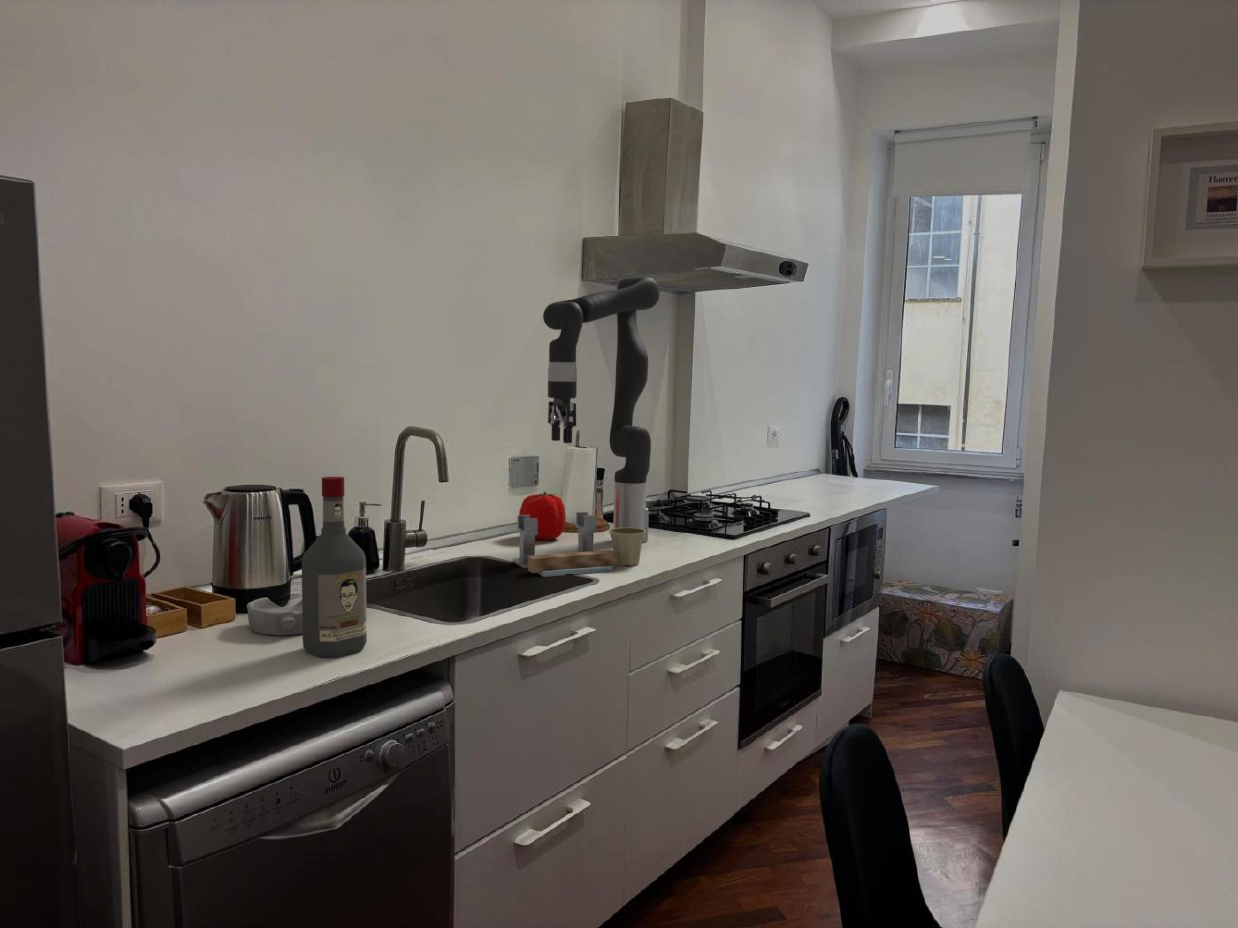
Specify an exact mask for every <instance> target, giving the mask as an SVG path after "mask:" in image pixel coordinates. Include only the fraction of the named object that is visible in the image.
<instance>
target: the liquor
mask: <svg viewBox="0 0 1238 928" xmlns="http://www.w3.org/2000/svg"><path fill="white" fill-rule="evenodd" d="M321 496H322V527H321V530H320V532H321V534H320V535H319V536H318V537H317V538H316V539H315V541H314V542H313V543H312V544H311V545H309V547H308V548H307V550H306V551H305V552H304V553H303V556H302V558H301V597H302V598H301V599H302V615H303V633H302V647H303V648H304V651H305V652H306V653H309V654H310V655H314V656H315V657H318V658H320V659H324V658H325V659H329V658H331V659H335V658H340V657H344V656H348V655H353V654H356V653H361V652H362V650H363V649H364V648H365V646H366V645H367V641H368V639H367V637H368V635H367V557H366V555H365V552H364V550H363V548H361V547H360V546H359V545H358V544H357V543H356V542H355V540H353V539H352V538H351V537H350V535H349V534H348V533H347V528H346V526H345V506H344V505H345V503H344V500H345V499H344V496H345V477H344V476H323V477H321Z"/></svg>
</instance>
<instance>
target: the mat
mask: <svg viewBox="0 0 1238 928" xmlns="http://www.w3.org/2000/svg"><path fill="white" fill-rule="evenodd" d="M613 571H614V567H613V566H604V567H591V568H578V569H566V570H553V571H543V572H541V573H537V574H538V575H540V576H541V577H543V578H548V577H549V578H551V577H559V576H560V577H561V576H567V575H566V574H574V575H585V574H595V573H598V574H599V573H607V572H609V573H610V572H613Z"/></svg>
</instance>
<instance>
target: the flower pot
mask: <svg viewBox="0 0 1238 928" xmlns="http://www.w3.org/2000/svg"><path fill="white" fill-rule="evenodd" d="M645 532H646V530H644V529H640V528H614V527H613V528H611V529H609V530H608V533H609V534H610V535H609V536H610V538H611V541H612V542H611V543H612V549H613V550H612V551H614V552H616V553H617V566H622V567H625V566H629V567H634V566H637V565H640V559H641V552H642V547H643V542H642V540H643V538H644V533H645Z"/></svg>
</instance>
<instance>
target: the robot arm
mask: <svg viewBox="0 0 1238 928" xmlns="http://www.w3.org/2000/svg"><path fill="white" fill-rule="evenodd" d="M660 293H661V292H660V286H659V285H658V283H657V281H655V279H654V278H651V277H648V276H636V277H635V276H633V277H625V278H622V279H621V280H620V281H619V283H618V284H617V287H616V289H613V290H605V291H598V292H593V293H590V294H586V295H582V296H580V297H576V298H572V299H565V300H559V301H554V302H551V303H550V304H548V305H547V306H546V307H545V309H544V310H543V315H542V318H543V322H544V324H545V325H546V326H547V327H548V328H549V329H550V330H555V331H560V332H559V336H558V337H557V338H555V339H552V340H551V341H550V342H549V345H548V349H549V350H548V353H549V354H548V369H547V397H548V399H549V398H550V399H553V401H552V400H551V401H550V400H549V401H548V402H547V403H548V405H547V407H548V412H547V423H548V424H550V427H551V438H550V439H551V440H552V441H553V442H557V441H561V424H562V427H563V428H562V430H563V431H562V432H563V434H562V435H563V436H562V437H563V438H562V443H564V444H572V443H573V429H574V427H576V426H577V403H576V402H571V400H572V399H576V398H577V394H578V393H577V392H578V391H577V387H578V385H577V383H578V382H577V381H578V380H577V379H578V378H577V377H578V371H577V369H578V368H577V346H578V343H579V340H580V339H579V338H580V335H581V332H582V331H581V330H582V326H583V324H587V323H591V322H595V321H597V320H600V319H604V318H607V317H610V316H613V315H616V323H617V326H616V327H617V335H616V336H617V339H616V341H617V342H616V358H615V359H616V360H615V362H616V363H615V386H614V387H615V388H614V398H613V399H614V400H613V409H612V410H613V411H612V417H611V422H610V423H611V424H610V430H609V431H610V432H609V447H610V451H611V452H612V454H613V455H614V456H616V457H619V458H625V464H624V466H623V467H622V468H621V469H618V470H617V471H615V472H614V479H613V480H614V484H613V485H614V487H613V488H614V489H613V528H640V529H644V530H646V532H645V533H644V538H643V540H642V543H644V542H648V541H649V511H650V510H649V508H648V507H647V477H648V475H649V472H650V464H651V452H652V441H651V435H650V433H649V431H648V429H646V428H645V427H642V426H636V425H635V426H634V425H633V420H634V411H635V407H636V404H637V402H638V400H639V398H640V397H641V395H642V393H643V391H644V390H645V387H646V385H647V382H648V376H649V375H648V374H649V355H648V352H647V349H646V346H645V345H644V342H643V341H642V338H641V335H640V334H639V331H638V327H637V324H638V323H637V311H647V310H649V309H652V308H654V307H655V306H656V305H657V303H659V302H658V301H659V300H660V295H661V294H660Z"/></svg>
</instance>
